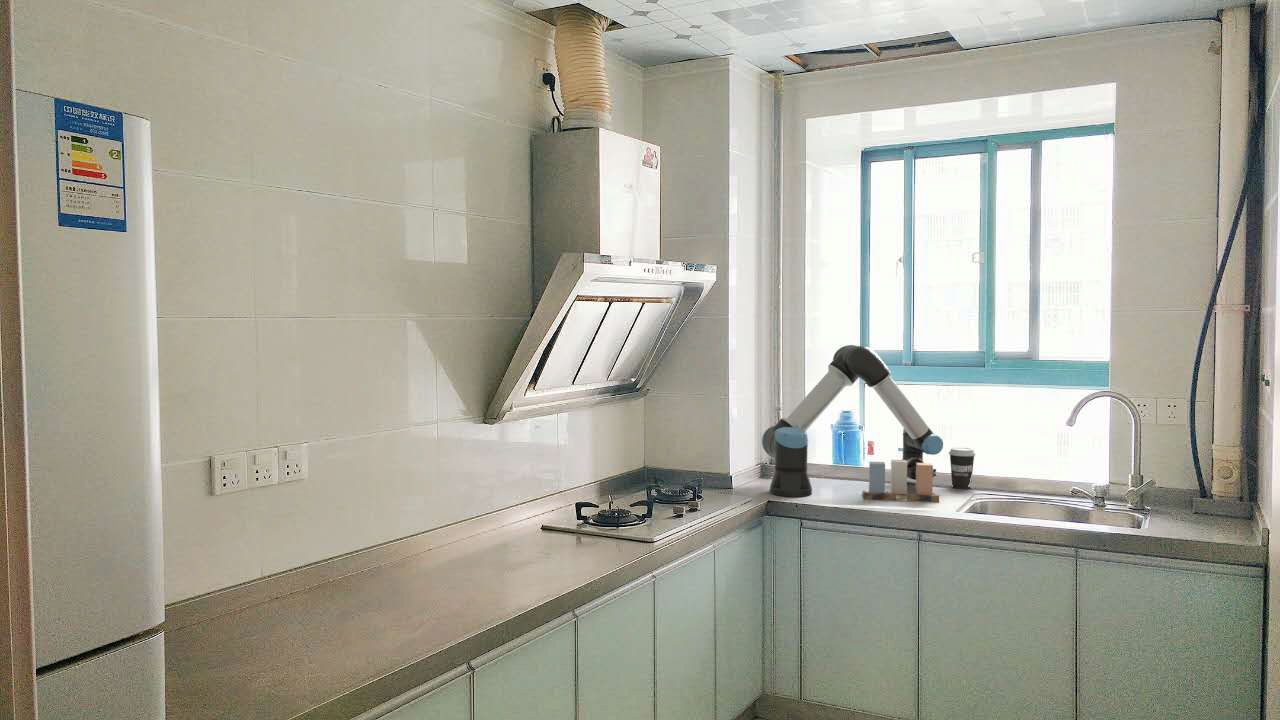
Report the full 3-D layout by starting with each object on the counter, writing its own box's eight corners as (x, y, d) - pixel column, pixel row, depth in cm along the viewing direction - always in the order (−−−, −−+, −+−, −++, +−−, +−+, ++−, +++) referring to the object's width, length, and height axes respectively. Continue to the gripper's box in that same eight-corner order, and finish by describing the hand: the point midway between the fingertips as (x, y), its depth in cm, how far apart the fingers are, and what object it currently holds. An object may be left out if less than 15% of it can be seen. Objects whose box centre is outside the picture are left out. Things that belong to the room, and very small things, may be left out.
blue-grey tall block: (869, 497, 316) (870, 463, 315) (869, 495, 321) (869, 461, 320) (884, 498, 315) (885, 464, 314) (883, 495, 320) (884, 462, 319)
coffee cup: (942, 487, 342) (943, 447, 342) (961, 485, 346) (962, 446, 346) (961, 491, 334) (961, 451, 333) (980, 489, 338) (981, 449, 337)
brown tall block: (917, 499, 314) (917, 464, 313) (915, 496, 318) (916, 462, 318) (932, 499, 313) (932, 465, 312) (930, 497, 318) (930, 463, 317)
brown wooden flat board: (864, 501, 315) (864, 493, 314) (861, 493, 330) (861, 485, 329) (939, 504, 310) (939, 495, 310) (933, 496, 325) (933, 487, 325)
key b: (892, 495, 320) (892, 461, 320) (890, 492, 325) (891, 459, 325) (906, 495, 319) (907, 462, 319) (905, 493, 324) (905, 460, 324)
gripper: (933, 479, 340) (943, 490, 317) (897, 477, 342) (904, 489, 319) (933, 459, 340) (943, 469, 317) (898, 458, 342) (905, 468, 319)
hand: (924, 479), depth 318 cm, fingers closed
